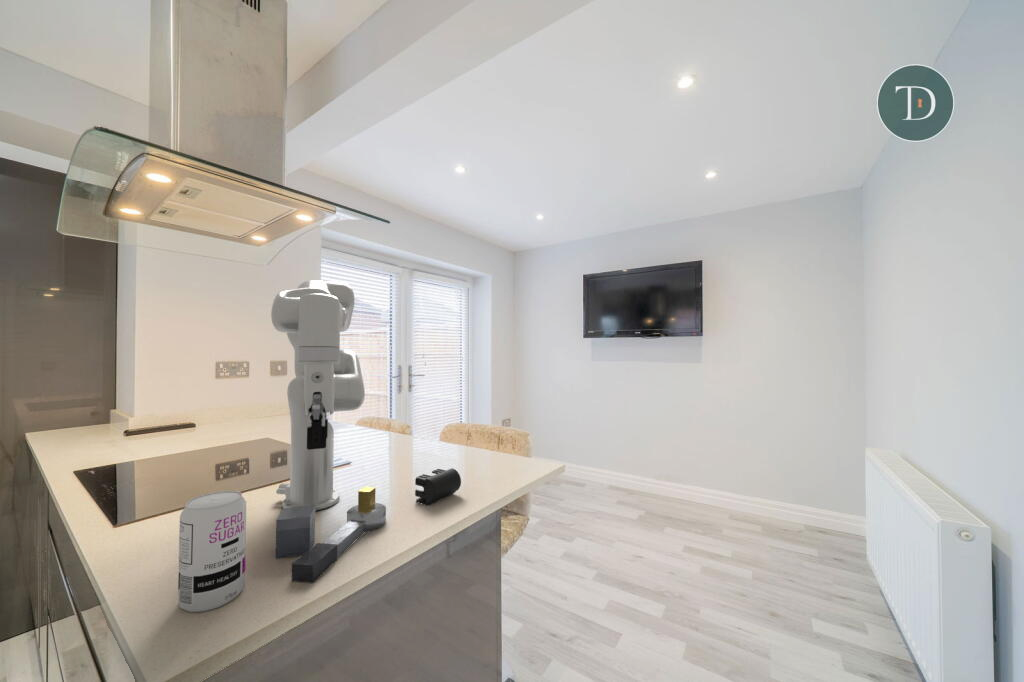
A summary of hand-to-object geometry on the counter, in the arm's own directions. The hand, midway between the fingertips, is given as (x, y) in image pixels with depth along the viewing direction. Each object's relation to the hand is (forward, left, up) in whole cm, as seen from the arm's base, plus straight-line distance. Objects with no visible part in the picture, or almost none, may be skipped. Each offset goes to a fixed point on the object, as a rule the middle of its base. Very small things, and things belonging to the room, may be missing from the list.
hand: (317, 443), depth 78 cm
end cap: (+17, +25, -20) cm, 36 cm away
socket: (-3, -3, -20) cm, 20 cm away
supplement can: (-5, -18, -20) cm, 27 cm away
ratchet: (+6, +1, -20) cm, 20 cm away
